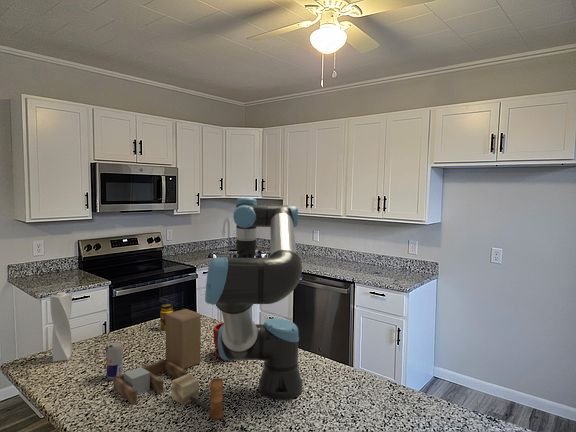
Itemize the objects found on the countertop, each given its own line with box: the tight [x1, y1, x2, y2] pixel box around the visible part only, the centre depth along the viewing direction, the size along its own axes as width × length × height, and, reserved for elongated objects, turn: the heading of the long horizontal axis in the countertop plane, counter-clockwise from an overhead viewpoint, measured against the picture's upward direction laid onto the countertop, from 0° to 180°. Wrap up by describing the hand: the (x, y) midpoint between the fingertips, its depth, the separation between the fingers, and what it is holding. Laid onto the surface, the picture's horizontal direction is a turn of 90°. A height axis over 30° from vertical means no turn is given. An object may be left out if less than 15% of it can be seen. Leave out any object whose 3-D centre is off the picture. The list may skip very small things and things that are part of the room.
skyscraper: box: [47, 287, 74, 364], centre depth 151 cm, size 8×8×28 cm
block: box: [123, 366, 151, 395], centre depth 130 cm, size 6×6×6 cm
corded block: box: [171, 373, 224, 421], centre depth 121 cm, size 20×6×11 cm, turn 50°
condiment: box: [156, 303, 174, 333], centre depth 186 cm, size 7×8×12 cm
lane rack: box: [113, 358, 188, 406], centre depth 133 cm, size 14×20×4 cm
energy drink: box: [105, 341, 124, 381], centre depth 138 cm, size 5×5×12 cm
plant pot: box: [212, 322, 224, 359], centre depth 159 cm, size 13×13×12 cm
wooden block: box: [165, 308, 202, 370], centre depth 150 cm, size 10×10×20 cm
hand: (245, 294), depth 146 cm, fingers open, 13 cm apart
